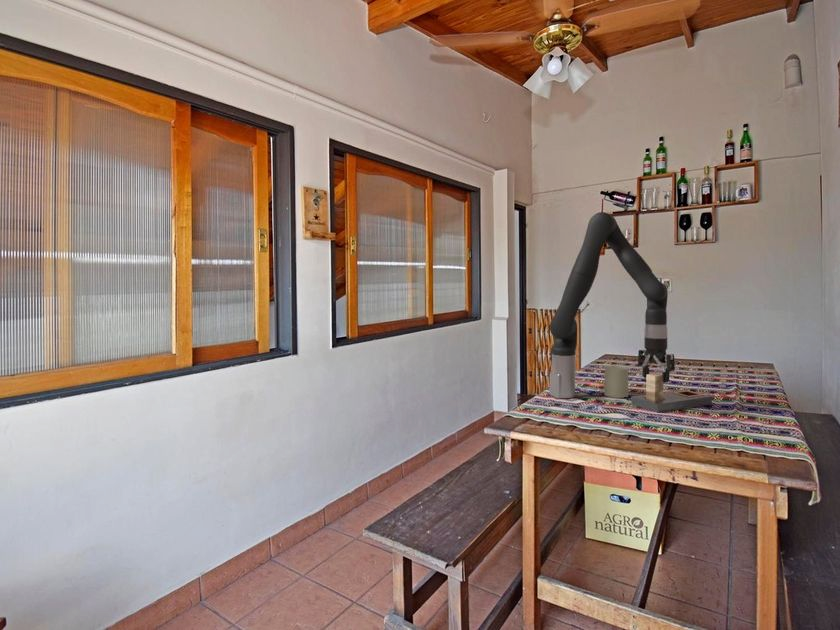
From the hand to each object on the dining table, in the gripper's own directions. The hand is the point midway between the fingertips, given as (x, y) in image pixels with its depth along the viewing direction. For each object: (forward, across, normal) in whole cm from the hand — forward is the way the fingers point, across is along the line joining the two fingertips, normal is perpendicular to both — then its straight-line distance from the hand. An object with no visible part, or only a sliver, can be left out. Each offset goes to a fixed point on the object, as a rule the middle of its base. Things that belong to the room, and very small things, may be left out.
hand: (655, 379), depth 170 cm
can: (+10, -19, 0) cm, 22 cm away
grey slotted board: (+10, 0, +8) cm, 13 cm away
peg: (+10, 0, 0) cm, 10 cm away
